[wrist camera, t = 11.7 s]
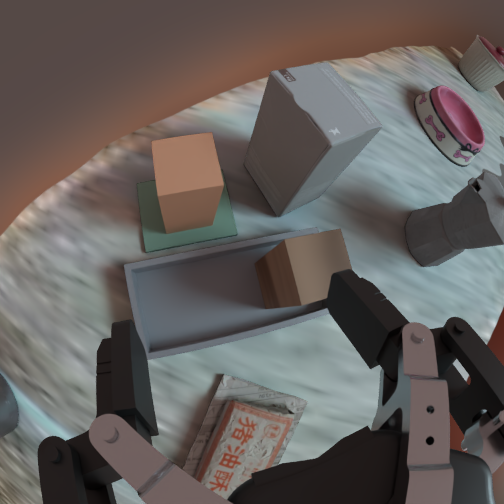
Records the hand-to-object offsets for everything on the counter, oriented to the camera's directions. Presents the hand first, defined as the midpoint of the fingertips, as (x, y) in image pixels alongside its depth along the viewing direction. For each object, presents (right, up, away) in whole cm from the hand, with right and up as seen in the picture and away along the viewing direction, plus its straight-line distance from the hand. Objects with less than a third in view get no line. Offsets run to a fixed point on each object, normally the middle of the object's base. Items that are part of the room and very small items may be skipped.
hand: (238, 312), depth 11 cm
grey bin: (-2, -2, +19) cm, 19 cm away
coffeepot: (+28, +4, +27) cm, 39 cm away
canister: (+77, +63, +52) cm, 112 cm away
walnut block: (+4, -1, +20) cm, 20 cm away
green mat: (-7, +7, +20) cm, 22 cm away
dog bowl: (+42, +29, +37) cm, 63 cm away
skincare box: (+4, +11, +24) cm, 26 cm away
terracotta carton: (-7, +7, +20) cm, 22 cm away
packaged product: (-1, -20, +16) cm, 26 cm away
